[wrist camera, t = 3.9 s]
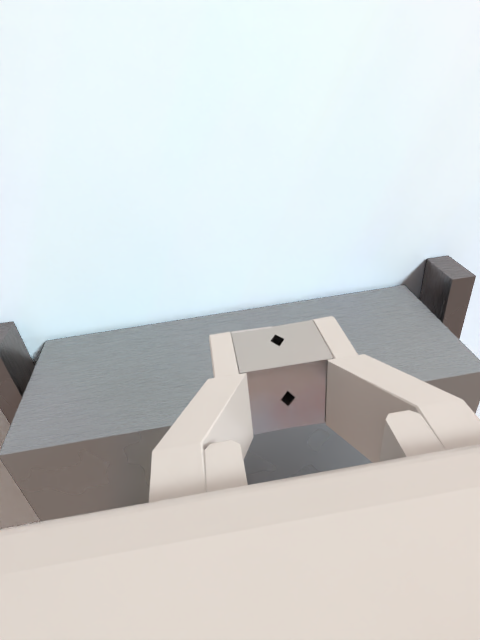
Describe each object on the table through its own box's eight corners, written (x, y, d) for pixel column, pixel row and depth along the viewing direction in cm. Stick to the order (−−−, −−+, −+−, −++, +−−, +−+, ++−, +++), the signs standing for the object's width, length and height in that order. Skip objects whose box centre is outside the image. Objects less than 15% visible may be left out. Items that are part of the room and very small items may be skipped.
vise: (-12, 325, 17) (-85, 439, 12) (448, 255, 18) (551, 331, 13) (121, 577, 29) (112, 684, 24) (390, 523, 31) (433, 615, 26)
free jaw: (45, 340, 18) (-2, 455, 13) (404, 285, 19) (489, 370, 14) (81, 421, 20) (53, 541, 15) (391, 368, 22) (458, 464, 17)
